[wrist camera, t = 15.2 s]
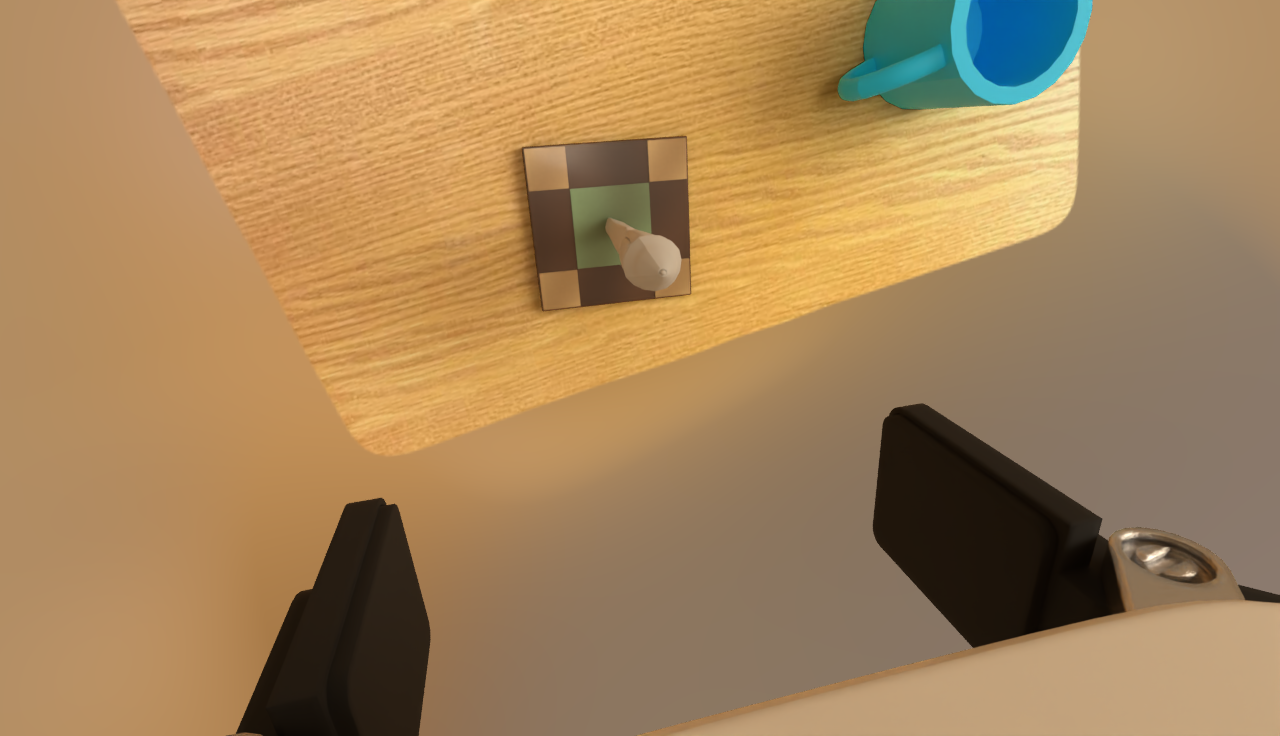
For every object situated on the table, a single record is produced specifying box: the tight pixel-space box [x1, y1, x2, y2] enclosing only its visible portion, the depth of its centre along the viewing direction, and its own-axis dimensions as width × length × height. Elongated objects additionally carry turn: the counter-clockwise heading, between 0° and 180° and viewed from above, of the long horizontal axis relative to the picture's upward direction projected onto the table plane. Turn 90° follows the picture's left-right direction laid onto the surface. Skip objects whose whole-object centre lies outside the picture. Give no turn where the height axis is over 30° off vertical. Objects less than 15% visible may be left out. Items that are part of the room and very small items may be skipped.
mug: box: [838, 0, 1092, 109], centre depth 34 cm, size 12×8×8 cm
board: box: [522, 136, 691, 311], centre depth 38 cm, size 10×10×1 cm
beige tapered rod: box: [605, 218, 682, 291], centre depth 31 cm, size 2×3×14 cm
